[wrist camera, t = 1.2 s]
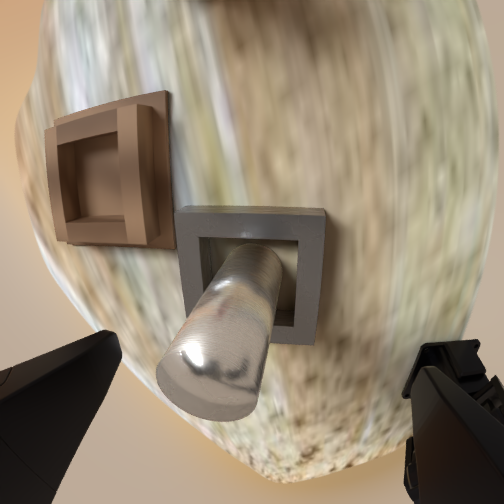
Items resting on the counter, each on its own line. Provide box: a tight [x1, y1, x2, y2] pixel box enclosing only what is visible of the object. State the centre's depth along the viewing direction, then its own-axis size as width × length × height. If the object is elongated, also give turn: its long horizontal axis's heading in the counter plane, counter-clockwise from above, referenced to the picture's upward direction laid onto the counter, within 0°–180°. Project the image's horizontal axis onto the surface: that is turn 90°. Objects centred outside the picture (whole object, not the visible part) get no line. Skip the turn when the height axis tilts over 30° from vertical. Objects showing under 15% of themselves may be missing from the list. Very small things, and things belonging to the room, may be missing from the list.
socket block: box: [174, 206, 326, 345], centre depth 19 cm, size 9×9×2 cm
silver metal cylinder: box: [156, 243, 283, 422], centre depth 15 cm, size 4×4×11 cm
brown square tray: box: [45, 90, 177, 249], centre depth 18 cm, size 11×11×2 cm
